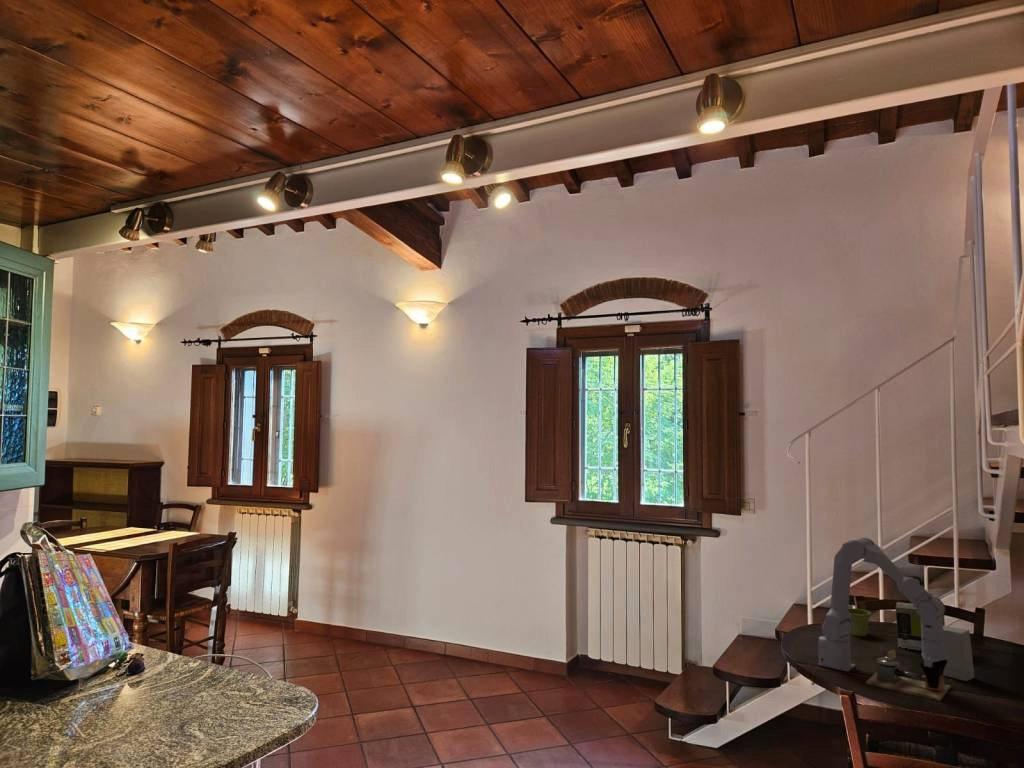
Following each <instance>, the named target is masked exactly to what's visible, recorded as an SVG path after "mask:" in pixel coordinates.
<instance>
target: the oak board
mask: <svg viewBox="0 0 1024 768" xmlns="http://www.w3.org/2000/svg"><path fill="white" fill-rule="evenodd" d="M866 685H869V686H874V687H876V688H877V687H879V688H882V689H886V690H890V691H896V692H899V693H904V694H907V695H913V696H916V697H921V698H925V699H929V700H933V699H935V700H934V701H937V700H938V702H940V701H941V700H942V699H943V698H944V697H945V696H946V694H947V693H948V692H949V691H948V690H950V689H951V684H946V683H944V688H943V690H942V691H938V690H934V689H929V688H926V686H925V682H923V681H919V680H914V679H910V678H905V677H901V679H900V680H898V681H897V682H896V683H895V684H892V683H888V682H884V681H879V680H877V673H876V672H875V673H874V674H873V675H872V676H871V677H869V679H867V680H866Z"/></svg>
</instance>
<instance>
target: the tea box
mask: <svg viewBox="0 0 1024 768" xmlns="http://www.w3.org/2000/svg"><path fill="white" fill-rule="evenodd" d="M916 608H917V607H916V606H914V605H913V604H912V603H911V602H910V603H909V602H899V601H897V602H896V606H895V619H896V632H897V633H896V634H897V635H896V636H897V647H898V648H899V647H901V648H900V649H905V648H907V649H906V650H913V649H914V651H920V650H921V652H922V638H921V617H920V615H919V614H918V612H917V610H916ZM941 616H942V619H943V626H946V624H945V622H946V621H945V613H944V614H943V615H941ZM941 616H939V617H941Z"/></svg>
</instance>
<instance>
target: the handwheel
mask: <svg viewBox="0 0 1024 768" xmlns="http://www.w3.org/2000/svg"><path fill="white" fill-rule="evenodd" d="M896 651H897V650H896V649H891V650H889V651H887V653H886V654H887V655H885V656H884V657H881V656H880V657H877V659H876V662H877V664H878V663H879V664H882V665H885V666H899V663H900V661H899V660H897V659H896V658H897V652H896Z"/></svg>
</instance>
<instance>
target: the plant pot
mask: <svg viewBox="0 0 1024 768" xmlns="http://www.w3.org/2000/svg"><path fill="white" fill-rule="evenodd" d="M848 611H849V613H850V615H851V622H852V625H853V631H852V633H851V634H850V635H853V636H857V637H866V636H867V635H868V628H869V619H870V616H871V615H872V613H871V611H869V610H865V609H862V608H861V609H860V608H848Z"/></svg>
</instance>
